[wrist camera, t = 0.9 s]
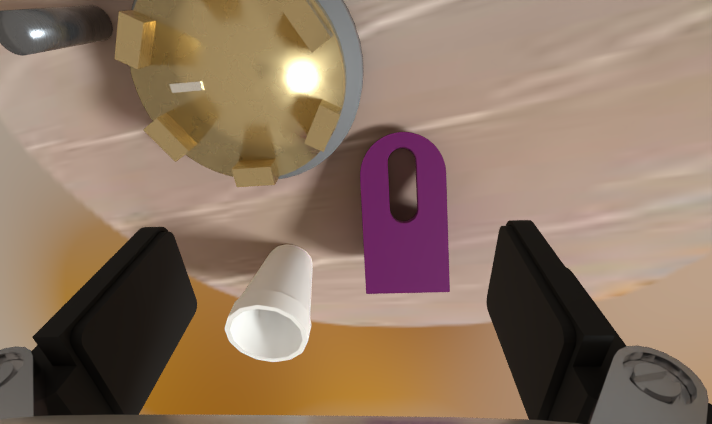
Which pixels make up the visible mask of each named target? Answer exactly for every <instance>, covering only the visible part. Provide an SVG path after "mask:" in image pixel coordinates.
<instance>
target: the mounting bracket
mask: <svg viewBox="0 0 712 424" xmlns="http://www.w3.org/2000/svg"><path fill="white" fill-rule="evenodd" d="M400 148H404V149H407V150H409V151H411V152H412V153H413V155H414V157H415V162H416V188H417V212H416V214H415V216H414V217H413V218H411V219H410V220H407V221H399V220H397V219H395V218H394V217H393V216H392V214H391V212H390V203H389V181H388V158H389V156H390V154H391V153H392V152H393V151H394V150H396V149H400ZM360 183H361V202H362V221H363V240H364V259H365V278H366V294H377V293H422V292H450V285H449V253H448V221H447V188H446V168H445V163H444V160H443V157H442V155H441V153H440V152H439V150H438V149H437V148H436V146H435V145H434V144H433V143H432V142H430V141H429V140H428V139H426V138H424V137H423V136H420V135H418V134H414V133H409V132H398V133H393V134H389V135H387V136H385V137H383V138H381V139H379V140H378V141H377V142H376V143H374V144H373V145H372V146H371V147H370V149H369V150H368V151H367V153H366V155H365V157H364V159H363V162H362V165H361V171H360Z"/></svg>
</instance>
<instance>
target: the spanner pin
mask: <svg viewBox="0 0 712 424" xmlns="http://www.w3.org/2000/svg"><path fill="white" fill-rule="evenodd" d="M112 31H113V27H112V23H111V20H110V18H109V17H108V15H107V14H106V13H105V12H104V11H103V10H102V9H100V8H99V7H96V6H92V5H89V6H72V7H55V8H39V9H22V10H5V11H0V43H1V44H2V45H3V46H4V47H5V48H6V49H7V50H9V51H10V52H12V53H14V54H17V55H29V54H34V53H40V52H45V51H50V50H55V49H61V48H66V47H71V46H77V45H82V44H87V43H92V42H98V41H103V40H107V39H108V38H110V36H111V35H112Z"/></svg>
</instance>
